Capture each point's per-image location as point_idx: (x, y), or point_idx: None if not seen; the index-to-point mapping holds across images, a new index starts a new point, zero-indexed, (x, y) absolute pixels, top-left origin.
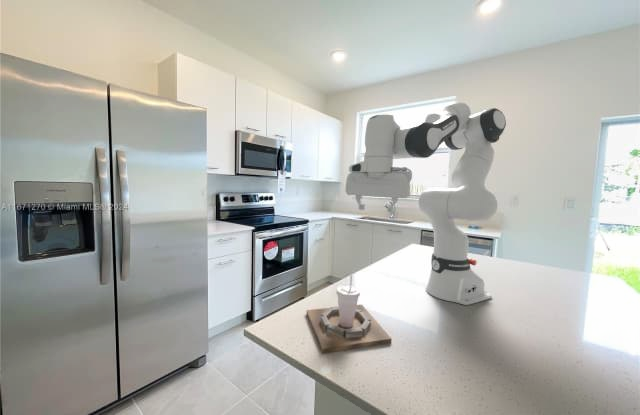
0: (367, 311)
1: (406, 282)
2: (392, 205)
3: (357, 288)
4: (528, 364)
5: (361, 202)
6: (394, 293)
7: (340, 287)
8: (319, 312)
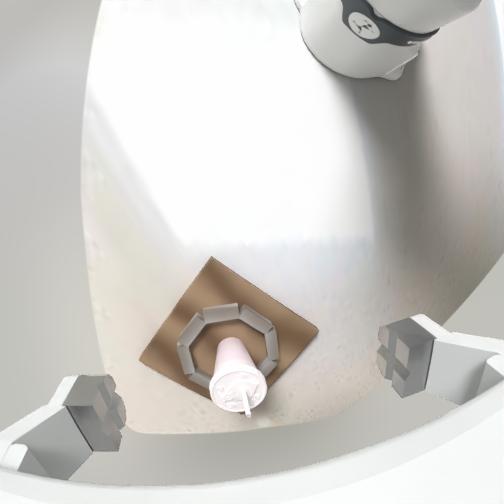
0: (239, 279)
1: (240, 19)
2: (450, 391)
3: (251, 372)
4: (466, 233)
5: (53, 423)
6: (241, 112)
7: (215, 392)
8: (163, 351)
